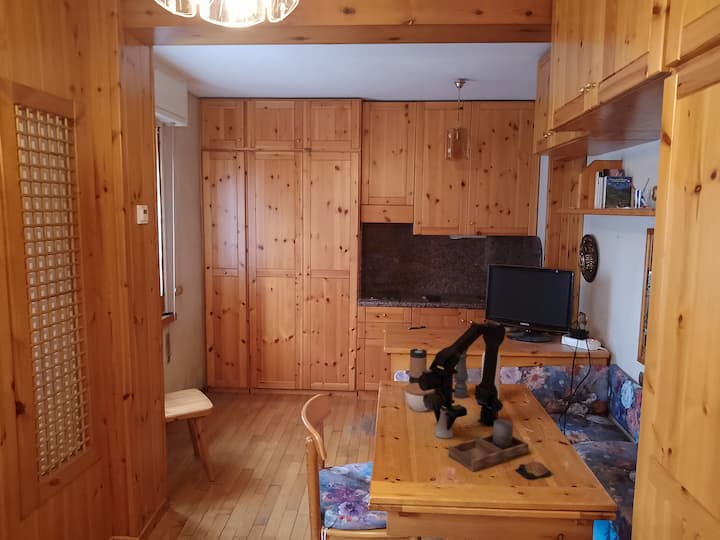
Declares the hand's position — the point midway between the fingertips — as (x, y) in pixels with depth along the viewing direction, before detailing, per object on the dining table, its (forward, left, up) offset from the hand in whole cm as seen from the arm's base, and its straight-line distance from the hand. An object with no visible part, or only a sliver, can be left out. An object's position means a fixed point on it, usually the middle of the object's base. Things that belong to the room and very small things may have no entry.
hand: (443, 427), depth 190 cm
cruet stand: (-3, +20, -3) cm, 20 cm away
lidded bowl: (-8, -25, -3) cm, 26 cm away
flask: (0, 0, -3) cm, 3 cm away
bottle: (-40, -17, -3) cm, 44 cm away
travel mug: (-18, -40, -3) cm, 44 cm away
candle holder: (-33, -28, -3) cm, 43 cm away
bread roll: (-7, +36, -4) cm, 37 cm away
